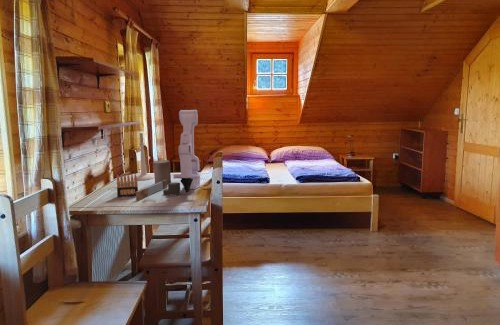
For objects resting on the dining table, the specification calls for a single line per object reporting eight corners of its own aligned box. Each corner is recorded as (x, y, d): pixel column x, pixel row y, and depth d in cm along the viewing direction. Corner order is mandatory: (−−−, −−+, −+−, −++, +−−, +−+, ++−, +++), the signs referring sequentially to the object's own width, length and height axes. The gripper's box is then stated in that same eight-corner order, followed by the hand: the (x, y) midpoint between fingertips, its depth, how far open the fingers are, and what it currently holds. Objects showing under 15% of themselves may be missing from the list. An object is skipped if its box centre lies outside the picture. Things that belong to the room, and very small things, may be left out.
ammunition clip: (117, 197, 199) (115, 175, 197) (117, 196, 201) (116, 174, 199) (138, 196, 201) (136, 173, 199) (138, 195, 203) (137, 173, 201)
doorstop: (180, 193, 204) (179, 182, 204) (177, 195, 201) (176, 184, 200) (167, 193, 207) (166, 182, 206) (163, 194, 203) (162, 183, 202)
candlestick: (136, 181, 239) (132, 133, 234) (132, 177, 250) (128, 132, 245) (156, 179, 245) (153, 132, 240) (151, 175, 256) (148, 131, 251)
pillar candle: (173, 181, 235) (171, 157, 232) (168, 185, 225) (166, 160, 223) (157, 182, 236) (156, 158, 233) (152, 185, 226) (150, 160, 224)
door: (161, 188, 216) (160, 181, 215) (162, 188, 215) (162, 181, 215) (146, 195, 201) (146, 187, 200) (148, 195, 200) (147, 187, 200)
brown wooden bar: (165, 187, 220) (164, 178, 219) (167, 187, 220) (166, 178, 219) (136, 200, 192) (135, 190, 191) (138, 200, 191) (138, 191, 190)
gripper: (169, 167, 197) (171, 193, 199) (195, 168, 193) (197, 194, 195) (176, 165, 204) (177, 190, 206) (201, 166, 200) (202, 191, 202)
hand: (187, 192), depth 201 cm, fingers closed
